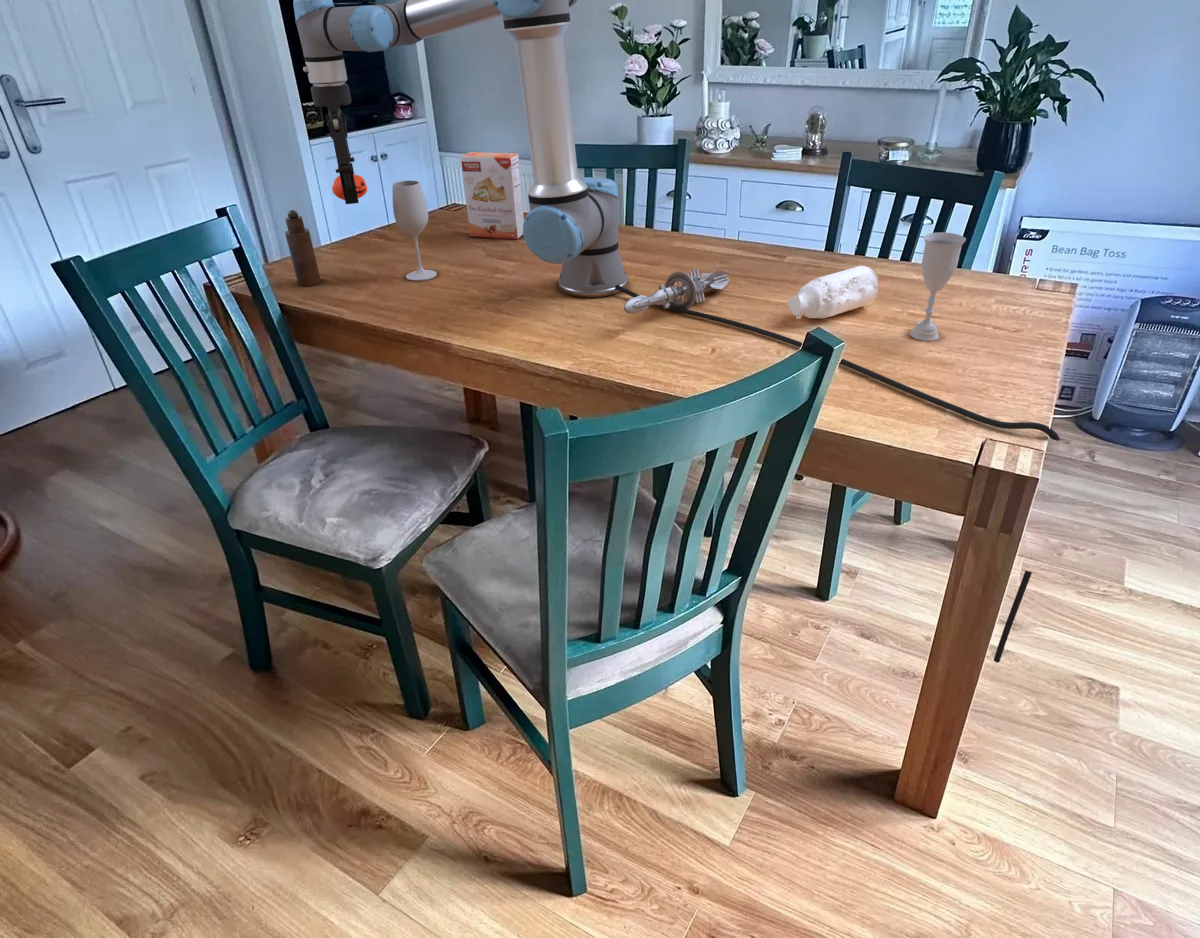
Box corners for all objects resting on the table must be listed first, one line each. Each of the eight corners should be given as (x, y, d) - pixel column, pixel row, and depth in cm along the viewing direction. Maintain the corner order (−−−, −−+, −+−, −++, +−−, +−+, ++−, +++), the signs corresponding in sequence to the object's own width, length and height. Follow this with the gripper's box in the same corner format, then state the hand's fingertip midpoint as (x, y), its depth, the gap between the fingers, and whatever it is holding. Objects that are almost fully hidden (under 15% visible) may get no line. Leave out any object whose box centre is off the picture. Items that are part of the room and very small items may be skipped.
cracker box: (469, 237, 207) (459, 155, 196) (478, 231, 212) (469, 151, 201) (517, 240, 203) (509, 156, 192) (526, 233, 208) (518, 152, 197)
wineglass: (433, 280, 178) (419, 186, 167) (401, 281, 179) (384, 187, 167) (440, 270, 185) (426, 179, 173) (409, 271, 185) (393, 180, 174)
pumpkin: (371, 194, 173) (366, 164, 169) (364, 203, 166) (358, 172, 162) (339, 195, 172) (333, 165, 169) (331, 204, 166) (324, 173, 162)
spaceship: (604, 291, 145) (635, 283, 140) (707, 262, 169) (738, 254, 163) (614, 332, 147) (645, 326, 142) (715, 298, 171) (745, 291, 165)
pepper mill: (325, 281, 181) (308, 209, 172) (305, 287, 177) (286, 214, 168) (313, 277, 184) (296, 206, 175) (293, 283, 180) (275, 210, 171)
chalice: (913, 325, 147) (932, 230, 137) (949, 333, 143) (971, 236, 133) (898, 337, 142) (917, 240, 132) (936, 346, 138) (957, 246, 128)
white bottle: (777, 319, 151) (781, 280, 147) (846, 298, 159) (851, 261, 155) (806, 332, 146) (810, 291, 141) (876, 309, 153) (882, 271, 149)
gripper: (311, 79, 164) (334, 189, 177) (308, 91, 147) (334, 211, 160) (347, 77, 166) (368, 186, 178) (348, 88, 149) (370, 208, 161)
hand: (352, 198), depth 169 cm, fingers closed on pumpkin, 8 cm apart
